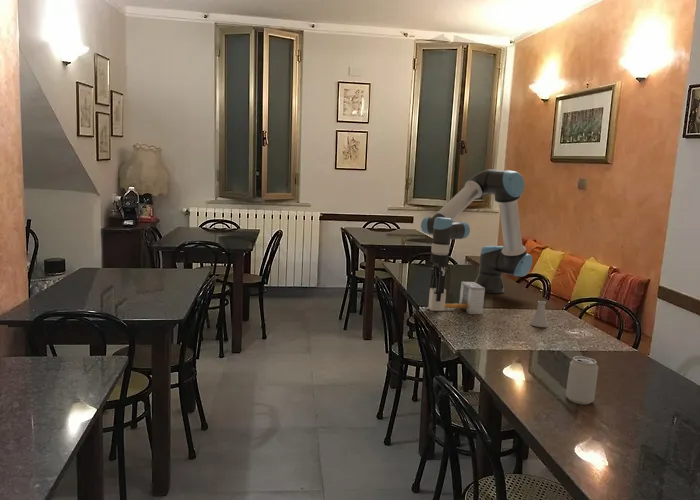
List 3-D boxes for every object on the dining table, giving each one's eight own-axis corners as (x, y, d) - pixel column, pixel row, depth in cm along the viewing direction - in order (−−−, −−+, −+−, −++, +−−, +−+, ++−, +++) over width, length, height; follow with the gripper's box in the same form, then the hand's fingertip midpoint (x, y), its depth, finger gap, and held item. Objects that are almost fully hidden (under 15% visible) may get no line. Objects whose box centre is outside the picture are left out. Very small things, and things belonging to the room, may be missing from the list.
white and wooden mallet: (473, 309, 266) (475, 289, 265) (477, 311, 262) (479, 291, 261) (428, 308, 262) (430, 287, 260) (431, 310, 258) (433, 289, 256)
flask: (549, 329, 242) (552, 304, 241) (530, 326, 244) (533, 302, 242) (547, 324, 249) (550, 300, 248) (529, 322, 251) (532, 298, 249)
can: (560, 394, 172) (566, 354, 170) (585, 395, 172) (591, 355, 170) (572, 405, 164) (578, 363, 162) (598, 406, 165) (604, 364, 163)
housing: (471, 307, 270) (474, 282, 268) (482, 314, 258) (485, 288, 257) (458, 306, 269) (461, 281, 267) (469, 313, 257) (471, 287, 255)
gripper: (455, 257, 249) (450, 312, 253) (441, 250, 266) (436, 302, 269) (438, 256, 248) (433, 311, 251) (425, 249, 264) (420, 301, 268)
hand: (434, 306), depth 260 cm, fingers closed on white and wooden mallet, 4 cm apart
